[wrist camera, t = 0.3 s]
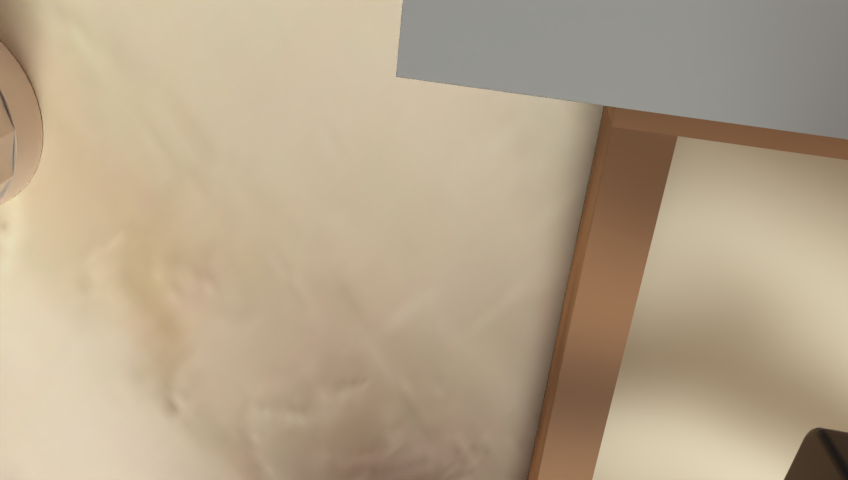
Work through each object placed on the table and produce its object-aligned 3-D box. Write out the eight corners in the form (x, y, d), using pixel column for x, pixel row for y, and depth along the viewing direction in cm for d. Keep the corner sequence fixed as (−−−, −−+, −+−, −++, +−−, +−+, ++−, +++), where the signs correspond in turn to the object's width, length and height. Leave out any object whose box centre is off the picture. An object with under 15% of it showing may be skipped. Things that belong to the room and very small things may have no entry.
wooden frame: (857, 652, 27) (885, 722, 25) (506, 585, 28) (502, 646, 26) (1122, 108, 19) (1200, 139, 17) (617, 42, 20) (625, 62, 18)
